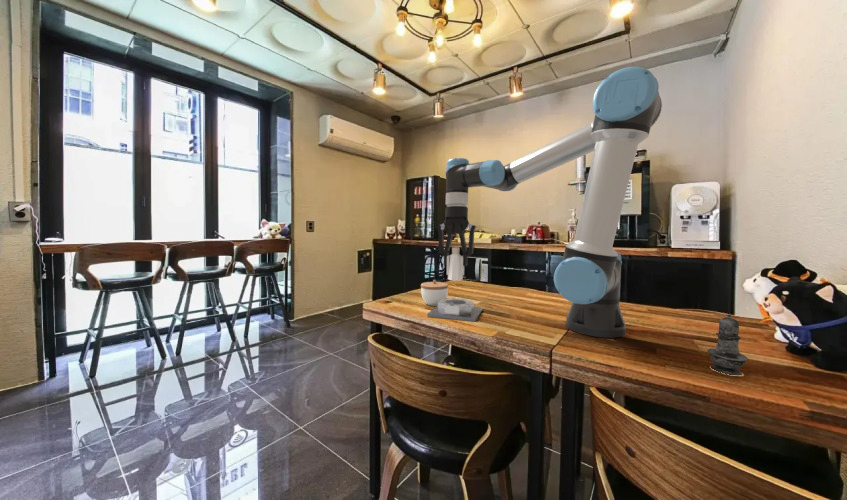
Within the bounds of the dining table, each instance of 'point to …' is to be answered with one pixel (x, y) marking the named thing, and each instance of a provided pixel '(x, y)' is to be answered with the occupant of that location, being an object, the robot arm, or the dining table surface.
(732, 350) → the grey stone tiered piece
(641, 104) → the robot arm
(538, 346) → the dining table surface
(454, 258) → the salt shaker
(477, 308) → the grey ashtray on slab
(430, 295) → the lidded jar
